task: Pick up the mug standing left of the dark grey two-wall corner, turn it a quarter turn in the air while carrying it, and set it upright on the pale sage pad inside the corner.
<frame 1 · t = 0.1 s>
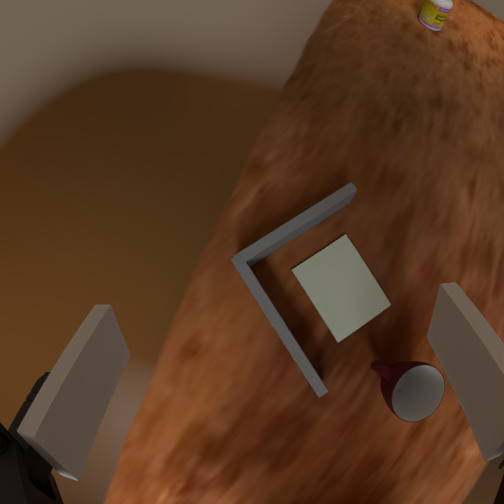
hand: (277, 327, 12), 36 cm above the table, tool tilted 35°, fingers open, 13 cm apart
corner arena: (342, 288, 47), on the table
mug: (388, 375, 44), on the table
supplement bottle: (429, 24, 55), on the table
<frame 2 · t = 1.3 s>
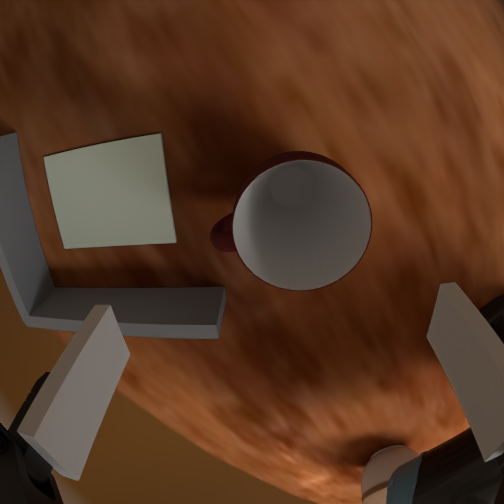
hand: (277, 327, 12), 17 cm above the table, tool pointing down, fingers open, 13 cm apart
corner arena: (105, 196, 28), on the table
mug: (278, 192, 27), on the table
white lidded pot: (388, 453, 46), on the table
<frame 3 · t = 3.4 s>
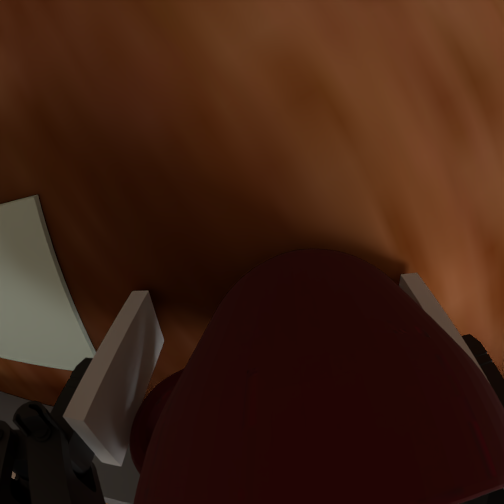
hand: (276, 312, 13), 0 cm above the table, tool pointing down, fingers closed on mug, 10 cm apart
mug: (277, 305, 13), on the table, touching gripper
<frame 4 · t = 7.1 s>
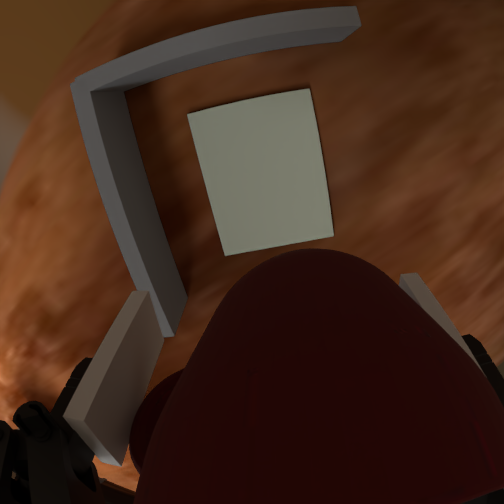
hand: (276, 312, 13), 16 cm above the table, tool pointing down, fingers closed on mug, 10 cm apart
corner arena: (264, 175, 26), on the table
mug: (277, 305, 13), point 16 cm above the table, touching gripper
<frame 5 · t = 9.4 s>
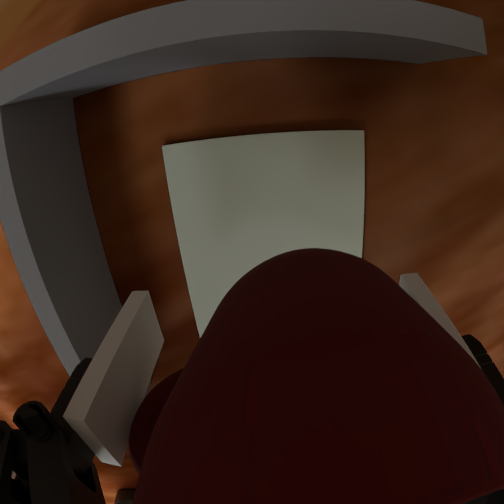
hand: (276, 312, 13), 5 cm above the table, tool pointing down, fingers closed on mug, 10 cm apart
corner arena: (272, 253, 18), on the table
mug: (276, 305, 13), point 5 cm above the table, touching gripper
when the fingers open (2 cm above the table, at t = 10.8 s): mug drops 1 cm, resting on corner arena.
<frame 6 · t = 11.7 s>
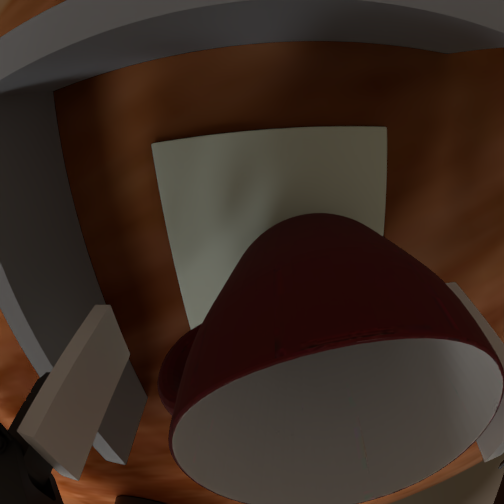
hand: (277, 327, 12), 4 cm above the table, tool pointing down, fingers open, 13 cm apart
corner arena: (279, 267, 15), on the table
mug: (286, 270, 15), resting on corner arena
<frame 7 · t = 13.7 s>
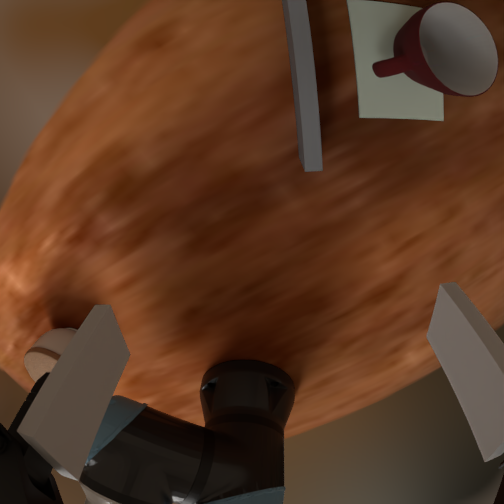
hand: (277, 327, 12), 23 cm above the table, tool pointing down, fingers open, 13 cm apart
corner arena: (399, 59, 26), on the table
mug: (402, 60, 25), resting on corner arena
white lidded pot: (78, 342, 47), on the table
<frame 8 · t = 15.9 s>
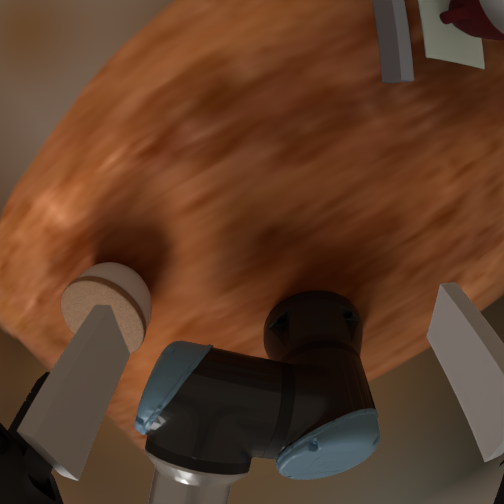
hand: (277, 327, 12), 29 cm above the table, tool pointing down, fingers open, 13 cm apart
corner arena: (450, 19, 26), on the table
mug: (453, 20, 26), resting on corner arena
white lidded pot: (124, 284, 46), on the table
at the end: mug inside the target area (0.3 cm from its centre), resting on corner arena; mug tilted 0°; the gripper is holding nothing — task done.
